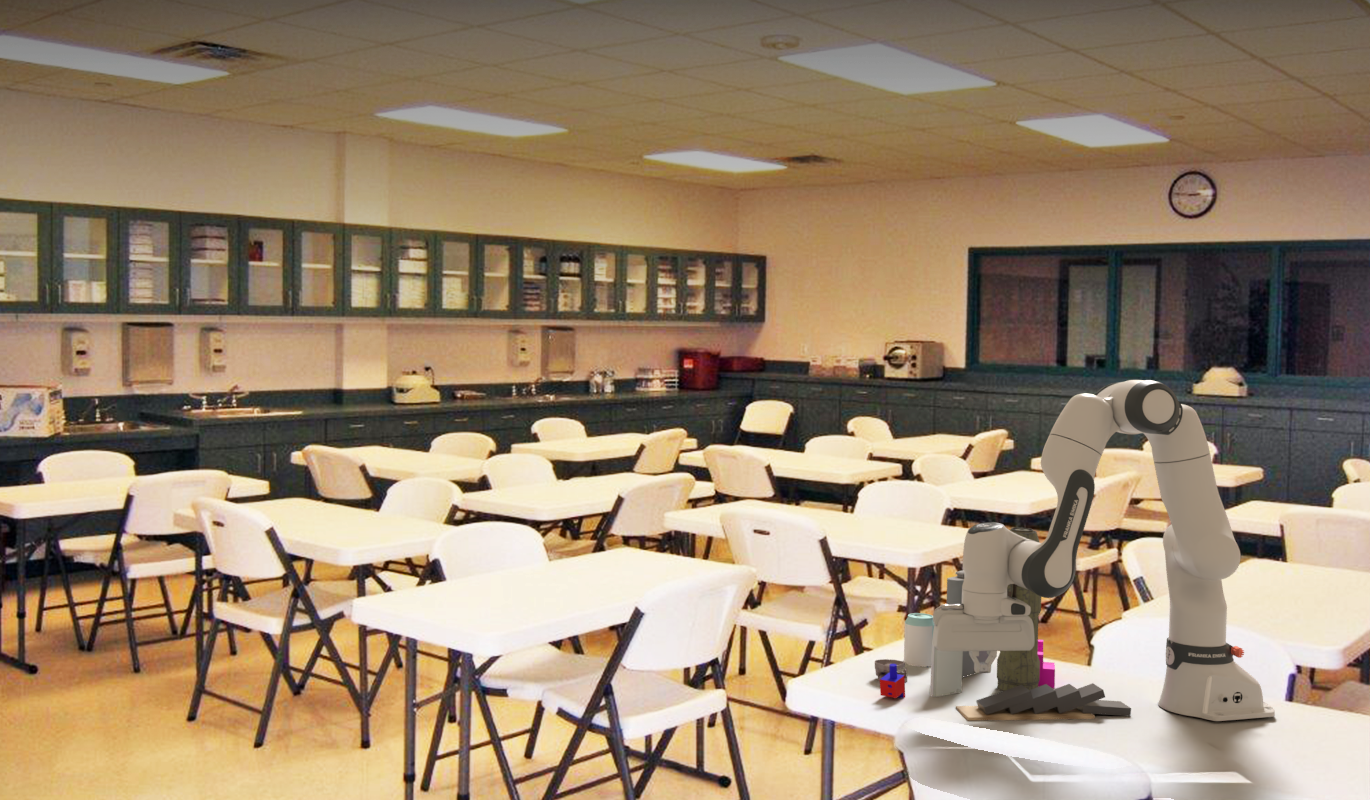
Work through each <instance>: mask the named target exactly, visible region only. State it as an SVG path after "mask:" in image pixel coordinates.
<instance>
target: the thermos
mask: <svg viewBox="0 0 1370 800" xmlns="http://www.w3.org/2000/svg"><path fill="white" fill-rule="evenodd" d="M1009 530H1010V531H1012V532H1013V533H1015V534H1017V535H1020V536H1022V537H1025V538H1027V539H1030V540H1034V541H1036V542H1039V543H1041V542H1040V539H1039V535H1038V532H1037V531H1036V530H1034V529H1032V528H1028V527H1011V528H1010V529H1009ZM1007 596H1010V597H1013V598H1016V599H1019V600H1021V601H1023V602H1025V603H1026V604H1028V605H1029V606H1030V608H1031V612H1030V614H1029V615H1028V616H1029V617H1030V618H1031V619H1032V622H1033V626H1034V639H1035V641H1034V646H1033V648H1032V649H1031V650H1030V651H999V654H998V655H997V659H996V678H997V685H996V687H997V688H996V689H997V690H998V691H1000V692H1002V691H1005V690H1008V689H1011V688H1014V687H1017V686H1019V685H1023V686H1024V687H1026V688H1027V689H1028V690H1031V689H1034V688H1036V687H1038V683H1039V676H1040V660H1039V657H1038V640H1039V616H1040V614H1041V611H1042V597H1041V596H1039V595H1037V594H1035V593H1033V592H1032V591H1030V590H1028V589H1025V588H1023V587H1020V586H1018V585H1016V584H1009V585H1008V587H1007Z"/></svg>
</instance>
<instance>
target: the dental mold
mask: <svg viewBox="0 0 1370 800" xmlns="http://www.w3.org/2000/svg"><path fill="white" fill-rule="evenodd" d="M890 664H896V665H897V674H899V675H904V678H905V684H906V683H907V682H908V672H907V668H905V667H906V663H905V662H904V660H903V661H902V660H897V659H888V658H887V659H884V658H883V659H876V660H874V669H875V670H874V671H875V675H876V677H877V681H878V682H880V679H881V678H882V677H884V676H885V675H886V674H888V673H890V667H889V665H890Z"/></svg>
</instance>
